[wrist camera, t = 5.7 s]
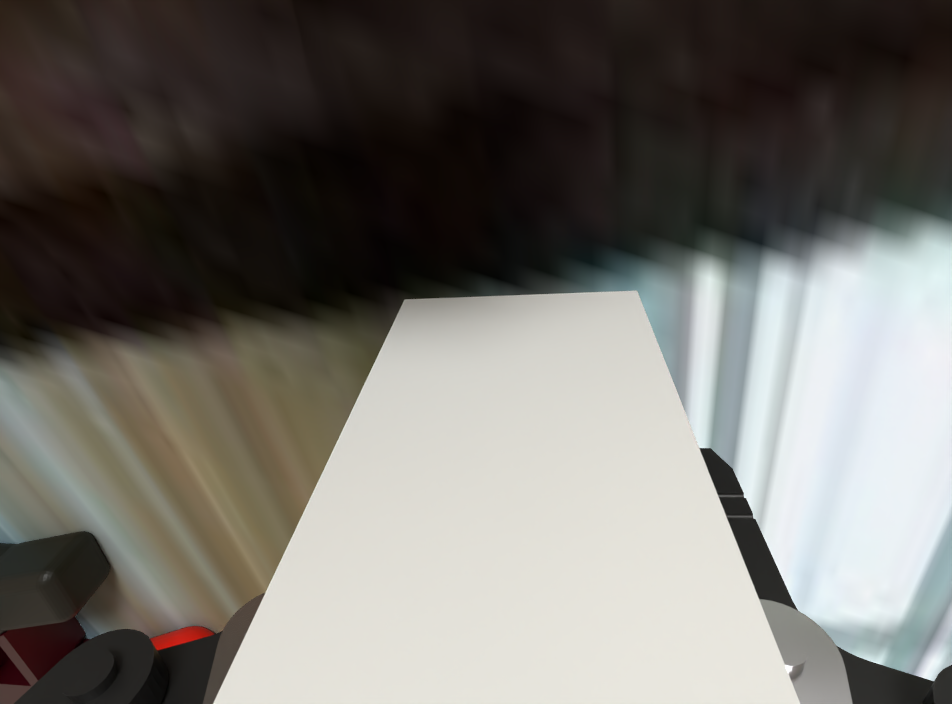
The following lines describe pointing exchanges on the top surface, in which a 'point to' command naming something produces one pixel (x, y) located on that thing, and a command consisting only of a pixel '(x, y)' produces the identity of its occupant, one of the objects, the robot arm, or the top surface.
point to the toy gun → (51, 607)
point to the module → (513, 529)
